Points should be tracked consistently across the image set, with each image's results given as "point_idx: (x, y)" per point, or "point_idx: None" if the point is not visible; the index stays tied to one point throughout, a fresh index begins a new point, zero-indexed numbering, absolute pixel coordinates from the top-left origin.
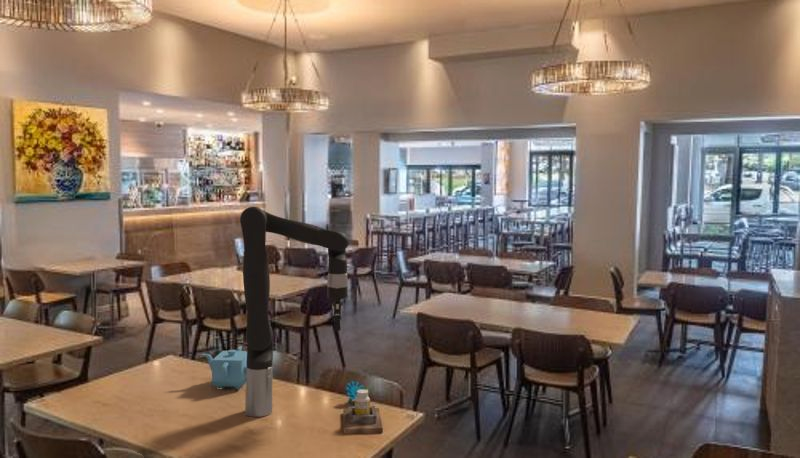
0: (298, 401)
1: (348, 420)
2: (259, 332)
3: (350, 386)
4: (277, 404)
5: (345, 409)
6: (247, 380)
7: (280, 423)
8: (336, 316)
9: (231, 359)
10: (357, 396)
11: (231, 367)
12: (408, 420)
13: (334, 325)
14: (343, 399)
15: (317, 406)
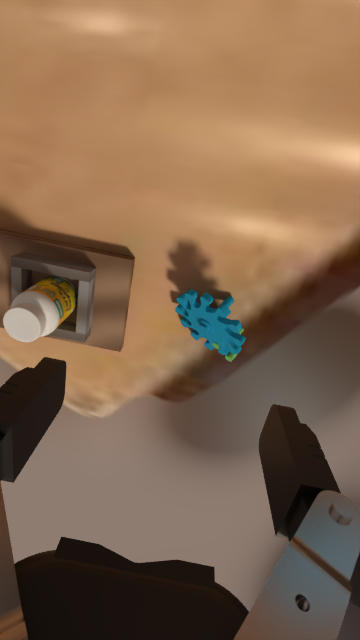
0: (279, 126)
1: (44, 255)
2: None
3: (215, 313)
4: (277, 29)
5: (127, 265)
6: None
7: (88, 26)
8: (289, 497)
9: None
10: (31, 303)
11: None
12: None
13: (18, 386)
14: (244, 282)
15: (210, 189)
